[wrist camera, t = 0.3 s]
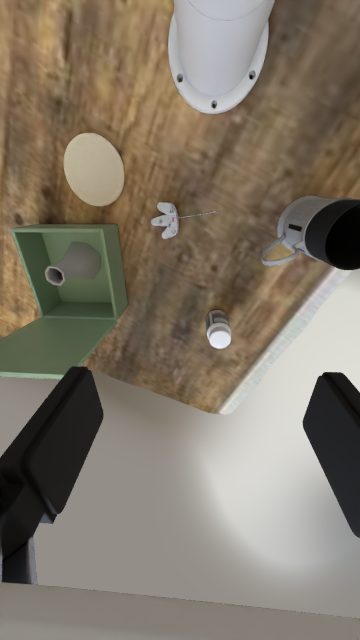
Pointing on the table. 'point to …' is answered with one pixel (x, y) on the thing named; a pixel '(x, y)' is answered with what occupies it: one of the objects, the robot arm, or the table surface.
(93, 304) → the box
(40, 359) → the box lid
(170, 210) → the game controller
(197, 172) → the table surface
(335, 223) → the glass holder
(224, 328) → the pill bottle
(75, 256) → the flask
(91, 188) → the coaster
